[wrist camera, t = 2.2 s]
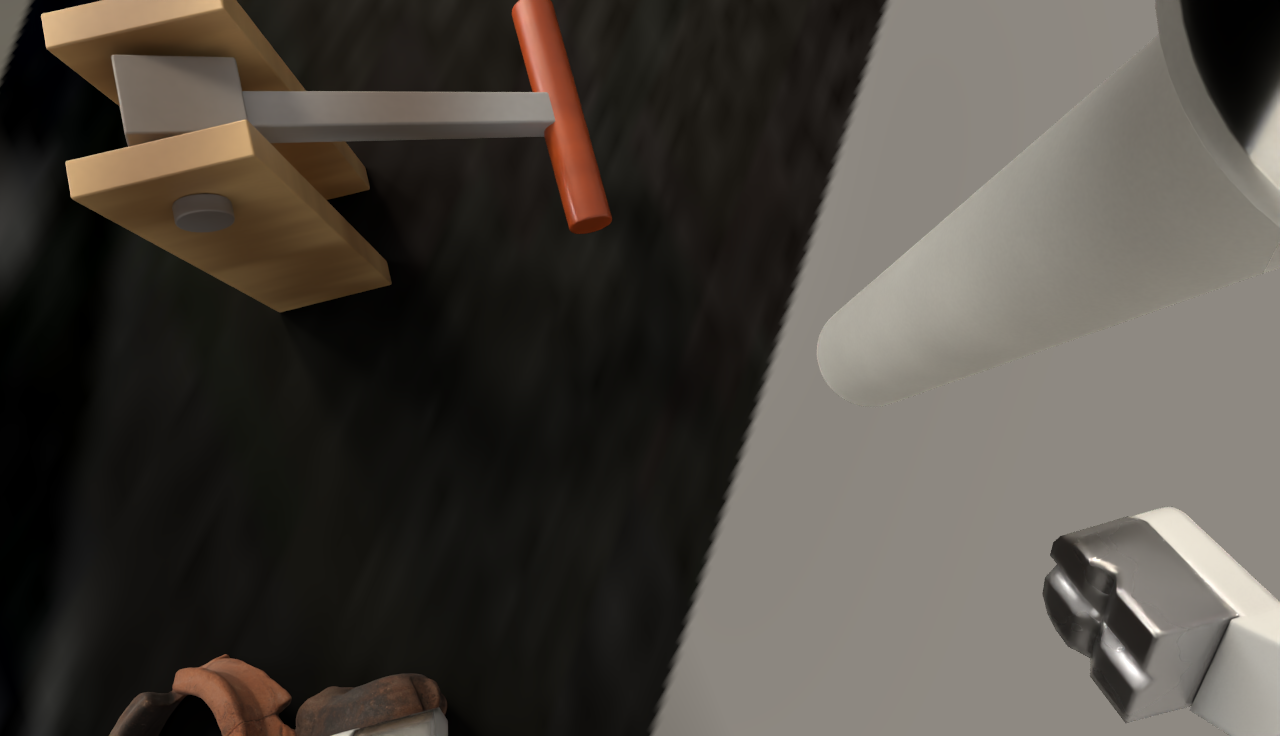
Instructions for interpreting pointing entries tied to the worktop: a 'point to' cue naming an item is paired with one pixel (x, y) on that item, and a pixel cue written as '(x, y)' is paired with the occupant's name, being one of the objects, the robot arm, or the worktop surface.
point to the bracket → (219, 162)
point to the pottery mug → (279, 702)
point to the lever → (381, 110)
